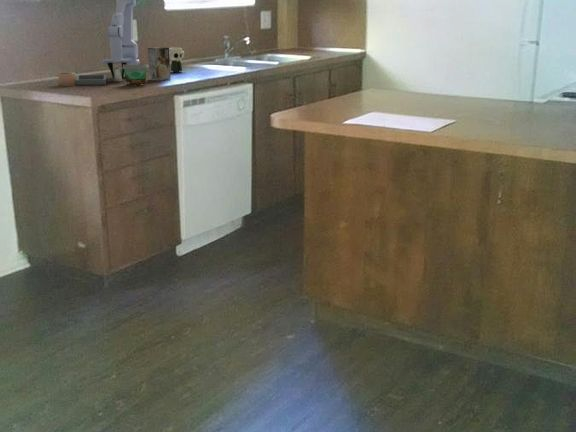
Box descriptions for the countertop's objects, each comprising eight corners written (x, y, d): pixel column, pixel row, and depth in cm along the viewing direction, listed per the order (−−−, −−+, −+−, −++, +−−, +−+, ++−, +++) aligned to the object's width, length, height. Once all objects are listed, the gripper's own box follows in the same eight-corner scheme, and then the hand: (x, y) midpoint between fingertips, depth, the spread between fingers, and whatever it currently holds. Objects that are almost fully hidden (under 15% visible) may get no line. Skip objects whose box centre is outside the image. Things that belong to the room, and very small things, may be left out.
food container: (126, 86, 351) (125, 65, 348) (123, 85, 357) (122, 64, 354) (151, 85, 357) (150, 64, 354) (147, 83, 362) (146, 63, 359)
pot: (76, 84, 359) (75, 71, 357) (75, 86, 351) (74, 73, 349) (59, 84, 357) (58, 71, 355) (58, 86, 350) (57, 73, 348)
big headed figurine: (171, 73, 402) (170, 49, 398) (164, 72, 407) (163, 48, 403) (188, 72, 409) (187, 48, 405) (181, 70, 414) (180, 47, 410)
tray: (106, 79, 376) (105, 74, 375) (105, 84, 357) (105, 79, 356) (77, 80, 373) (77, 75, 372) (76, 85, 354) (75, 80, 353)
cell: (122, 80, 374) (121, 67, 372) (122, 81, 370) (121, 68, 368) (114, 80, 373) (113, 67, 371) (114, 81, 369) (113, 68, 367)
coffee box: (163, 78, 383) (161, 46, 378) (170, 79, 379) (169, 47, 374) (148, 79, 377) (147, 47, 372) (156, 80, 373) (155, 48, 368)
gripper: (101, 51, 362) (103, 79, 366) (131, 51, 365) (132, 78, 369) (101, 50, 368) (103, 77, 372) (130, 49, 371) (132, 76, 375)
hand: (118, 78), depth 371 cm, fingers closed on cell, 4 cm apart
